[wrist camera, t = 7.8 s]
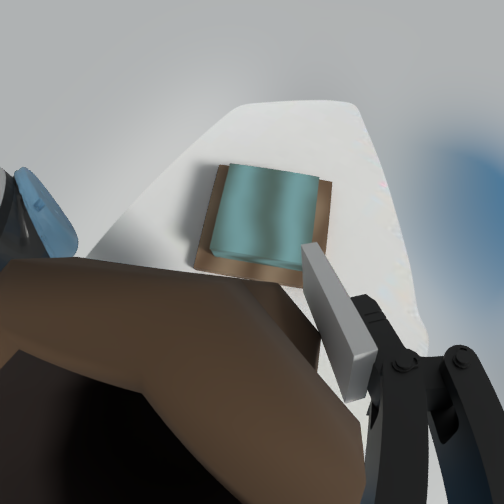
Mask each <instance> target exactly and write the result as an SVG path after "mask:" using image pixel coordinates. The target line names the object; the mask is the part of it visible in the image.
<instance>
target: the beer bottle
mask: <svg viewBox="0 0 504 504" xmlns="http://www.w3.org/2000/svg"><path fill="white" fill-rule="evenodd" d="M320 343H321V335H320V333H319V332H318V331H317V330H316V328H315V327H314V326H313V325H312V324H311V322H310V321H309V320H308V319H307V317H306V316H305V315H304V314H303V313H302V311H301V310H300V309H299V308H298V307H297V305H296V304H295V303H294V302H293V301H292V299H291V298H290V297H289V296H288V294H287V293H286V292H285V291H284V290H283V288H282V287H281V286H280V285H279V284H278V283H274V282H265V281H255V280H246V279H240V278H232V277H223V276H214V275H206V274H197V273H189V272H181V271H173V270H165V269H158V268H150V267H143V266H135V265H128V264H121V263H114V262H107V261H100V260H93V259H86V258H80V257H59V258H31V259H11V260H10V261H9V262H8V264H7V265H6V266H5V267H4V268H3V269H2V271H1V272H0V504H360V502H361V499H362V496H363V492H364V489H365V486H366V474H365V463H364V453H363V444H362V435H361V427H360V422H359V421H358V420H357V418H356V417H355V416H354V415H353V414H352V413H351V412H350V410H349V409H348V408H347V407H346V406H345V405H344V404H343V402H342V401H341V400H340V399H339V398H338V397H337V395H336V394H335V393H334V392H333V391H332V390H331V388H330V387H329V386H328V385H327V384H326V383H325V381H324V380H323V379H322V378H321V377H320V375H319V374H318V373H317V369H318V361H319V352H320Z"/></svg>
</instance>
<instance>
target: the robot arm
mask: <svg viewBox="0 0 504 504" xmlns="http://www.w3.org/2000/svg"><path fill="white" fill-rule="evenodd" d="M77 248H78V238H77V234H76V232H75V230H74V228H73V226H72V225H71V223H70V221H69V220H68V218H67V217H66V216H65V214H64V213H63V211H62V210H61V208H60V207H59V205H58V204H57V203H56V201H55V200H54V198H52V196H51V194H50V193H49V192H48V190H47V189H46V188H45V187H44V185H43V184H42V183H41V182H40V181H39V179H38V178H37V177H36V176H35V175H34V174H33V173H32V172H31V171H30V170H28V169H27V168H26V167H22V168H20V169H19V170H17V171H15V173H14V176H13V177H12V176H10V175H9V174H8V173H7V172H6V171H5V170H3V169H2V168H0V272H1V271H2V269H3V268H4V267H5V266H6V265H7V264H8V262H9V261H10V260H11V259H31V258H59V257H73V256H74V255H75V253H76V251H77ZM301 255H302V272H303V292H304V295H305V298H306V300H307V303H308V305H309V308H310V310H311V313H312V316H313V318H314V321H315V323H316V326H317V329H318V331H319V333H320V335H321V339H322V342H323V345H324V347H325V350H326V353H327V355H328V358H329V361H330V363H331V366H332V369H333V372H334V374H335V377H336V380H337V383H338V385H339V388H340V391H341V394H342V397H343V399H344V402H345V403H348V402H352V401H356V400H359V399H362V398H365V396H366V393H367V390H368V392H369V394H370V397H371V402H370V405H369V408H368V411H367V414H366V415H369V423H368V435H367V446H366V455H365V474H366V486H365V489H364V492H363V496H362V499H361V502H360V504H426V500H427V487H428V458H429V456H428V454H429V452H428V450H429V447H428V425H429V428H430V432H431V435H432V439H433V442H434V446H435V449H436V453H437V457H438V461H439V465H440V468H441V473H442V477H443V481H444V486H445V491H446V495H447V500H448V504H504V411H503V409H502V406H501V404H500V402H499V399H498V397H497V395H496V393H495V390H494V388H493V386H492V384H491V382H490V380H489V378H488V376H487V374H486V372H485V370H484V368H483V366H482V364H481V362H480V360H479V359H478V357H477V355H476V354H475V352H474V351H473V350H472V349H470V348H469V347H467V346H463V345H455V346H452V347H450V348H449V349H448V350H447V351H446V353H445V355H444V356H438V357H421V356H419V355H418V354H417V353H416V352H414V351H412V350H410V349H406V348H405V347H404V345H403V344H402V342H401V340H400V339H399V337H398V336H397V334H396V332H395V331H394V329H393V327H392V326H391V324H390V323H389V321H388V319H386V316H385V315H384V313H383V312H382V310H381V308H380V307H379V305H378V304H377V302H376V301H375V300H374V299H372V298H371V297H369V296H368V295H366V294H364V295H359V296H355V297H351V298H350V297H349V295H348V293H347V292H346V290H345V288H344V286H343V285H342V283H341V281H340V280H339V278H338V276H337V274H336V273H335V271H334V269H333V268H332V266H331V264H330V263H329V261H328V259H327V258H326V256H325V254H324V253H323V251H322V249H321V248H320V246H319V244H318V243H317V242H314V243H308V244H302V245H301Z"/></svg>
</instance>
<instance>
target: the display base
mask: <svg viewBox="0 0 504 504" xmlns="http://www.w3.org/2000/svg"><path fill="white" fill-rule="evenodd" d="M331 191H332V182H330V181H324V180H319V177H316V176H311V175H305V174H299V173H293V172H287V171H281V170H274V169H268V168H261V167H253V166H246V165H238V164H230V166H227V165H219V168H218V172H217V175H216V179H215V183H214V186H213V190H212V194H211V198H210V202H209V206H208V209H207V213H206V217H205V221H204V225H203V229H202V234H201V238H200V242H199V246H198V250H197V255H196V259H195V263H194V269H196V270H199V271H204V272H210V273H215V274H221V275H226V276H232V277H237V278H243V279H249V280H255V281H265V282H274V283H278V284H279V285H284V286H290V287H296V288H302V289H303V272H302V255H301V245H302V244H308V243H314V242H317V243H318V244H319V246H320V248H321V249H322V251H323V253H324V254H325V252H326V244H327V234H328V225H329V214H330V203H331Z"/></svg>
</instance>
